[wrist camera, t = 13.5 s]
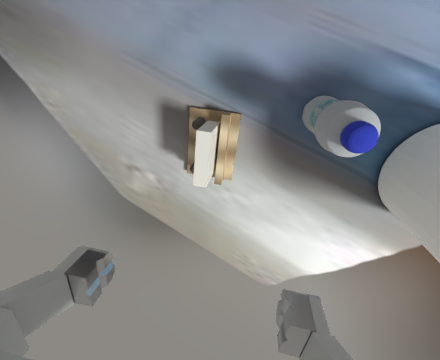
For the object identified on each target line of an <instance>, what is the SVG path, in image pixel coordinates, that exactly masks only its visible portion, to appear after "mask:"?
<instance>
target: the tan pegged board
mask: <svg viewBox="0 0 440 360" xmlns="http://www.w3.org/2000/svg"><path fill="white" fill-rule="evenodd" d="M240 119H241V114H240V113H232V112H225V111H218V110H211V109H204V108H196V107H190V118H189V140H188V161H187V173H192V174H194V162H195V146H196V130H197V129H199V128H200V127H201V126H202V125H203V124H205V123H206V122H207V121H208V120H209V121H216V122H220V130H219V139H218V148H217V158H216V167H215V171H214V173H213V175H212V177H215V182H214V184H219V185H221V184H222V181H223V179H227V180H232V174H233V167H234V160H235V153H236V146H237V140H238V133H239V126H240Z"/></svg>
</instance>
